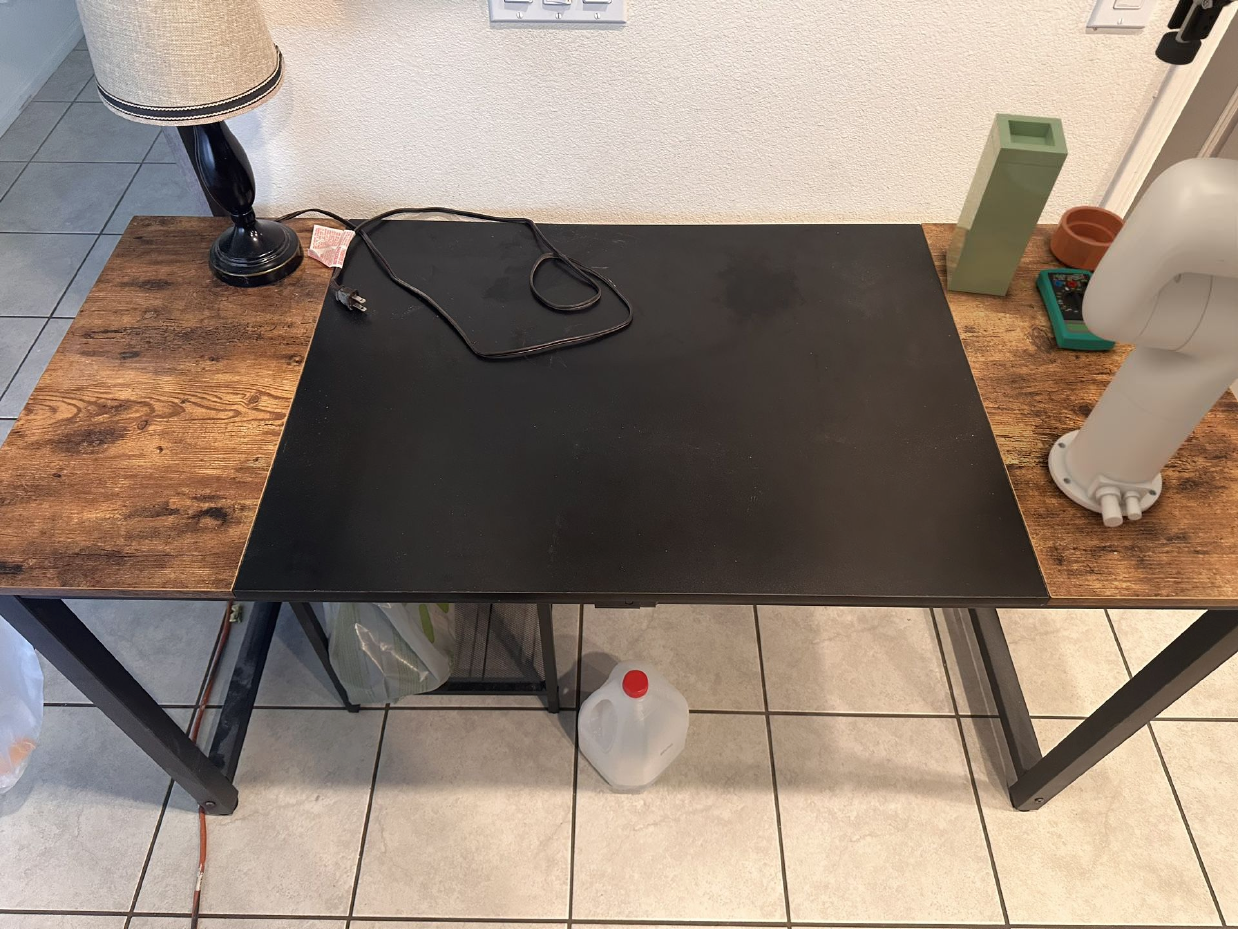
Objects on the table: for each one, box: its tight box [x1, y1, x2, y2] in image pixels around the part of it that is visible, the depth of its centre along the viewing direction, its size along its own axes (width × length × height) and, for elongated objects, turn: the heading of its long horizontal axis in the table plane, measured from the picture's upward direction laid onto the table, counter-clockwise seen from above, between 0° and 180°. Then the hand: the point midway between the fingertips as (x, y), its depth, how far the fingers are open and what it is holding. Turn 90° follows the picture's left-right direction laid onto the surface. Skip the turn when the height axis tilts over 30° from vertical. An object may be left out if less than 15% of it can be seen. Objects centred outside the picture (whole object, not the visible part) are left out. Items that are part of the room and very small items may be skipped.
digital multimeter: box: [1035, 267, 1117, 351], centre depth 120 cm, size 7×15×3 cm, turn 176°
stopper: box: [1154, 0, 1203, 66], centre depth 102 cm, size 4×4×8 cm
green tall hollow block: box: [945, 112, 1069, 297], centre depth 117 cm, size 8×8×23 cm
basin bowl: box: [1049, 205, 1126, 272], centre depth 127 cm, size 9×10×5 cm
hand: (1186, 32), depth 103 cm, fingers closed on stopper, 2 cm apart
